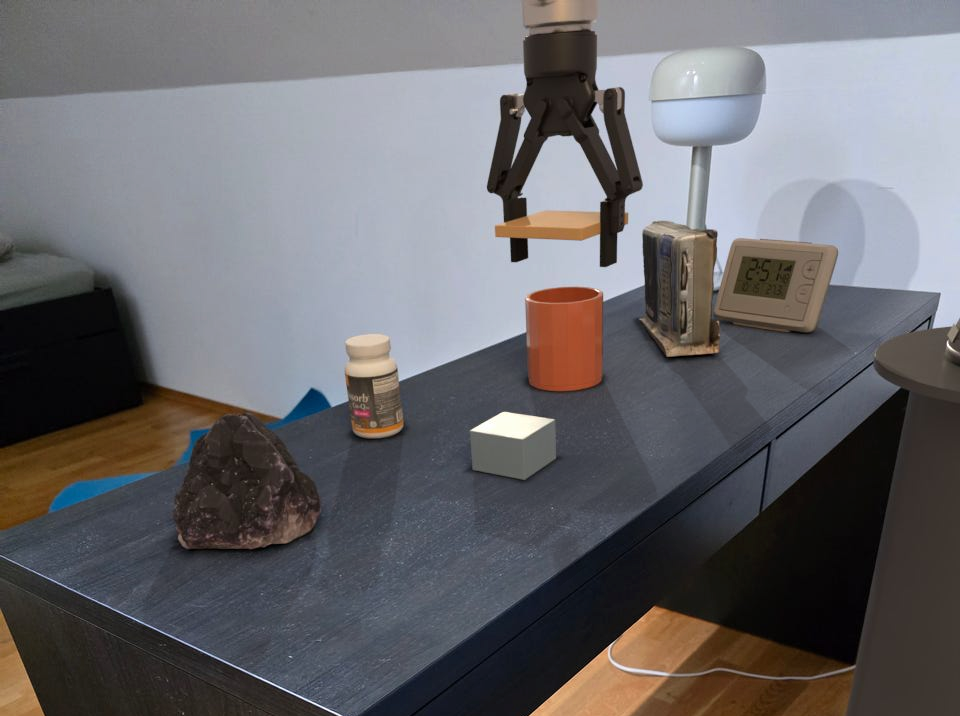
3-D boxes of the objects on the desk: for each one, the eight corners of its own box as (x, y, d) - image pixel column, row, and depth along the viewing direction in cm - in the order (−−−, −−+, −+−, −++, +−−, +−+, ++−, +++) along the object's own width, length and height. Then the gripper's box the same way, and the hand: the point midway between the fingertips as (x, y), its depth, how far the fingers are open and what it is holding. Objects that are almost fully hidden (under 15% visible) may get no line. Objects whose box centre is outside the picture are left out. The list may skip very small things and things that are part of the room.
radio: (638, 318, 132) (641, 208, 124) (697, 315, 131) (704, 204, 123) (650, 362, 112) (654, 235, 104) (719, 359, 111) (729, 230, 103)
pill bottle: (342, 433, 97) (328, 342, 92) (382, 419, 100) (371, 329, 95) (375, 444, 94) (361, 349, 88) (415, 428, 97) (405, 336, 92)
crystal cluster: (255, 580, 71) (243, 462, 66) (134, 539, 76) (115, 427, 71) (353, 525, 81) (350, 418, 76) (241, 492, 86) (231, 391, 81)
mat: (628, 224, 100) (628, 212, 99) (581, 240, 93) (581, 228, 92) (545, 221, 106) (544, 210, 105) (495, 237, 98) (494, 225, 98)
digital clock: (706, 320, 128) (711, 241, 122) (751, 309, 131) (758, 232, 126) (792, 340, 116) (803, 254, 110) (839, 328, 119) (852, 243, 114)
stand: (556, 458, 87) (555, 419, 85) (524, 480, 83) (522, 439, 81) (505, 449, 90) (503, 411, 88) (472, 470, 86) (469, 430, 84)
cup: (614, 373, 109) (616, 288, 104) (579, 395, 103) (579, 306, 98) (552, 366, 114) (550, 284, 108) (515, 386, 108) (511, 300, 102)
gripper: (445, 40, 92) (461, 263, 104) (650, 20, 81) (641, 274, 93) (484, 39, 97) (495, 252, 109) (683, 19, 86) (671, 260, 98)
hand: (562, 262), depth 101 cm, fingers closed on mat, 11 cm apart
